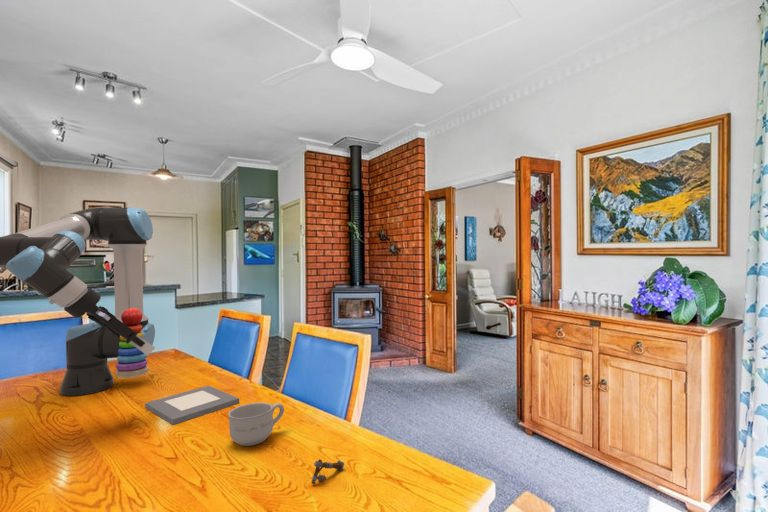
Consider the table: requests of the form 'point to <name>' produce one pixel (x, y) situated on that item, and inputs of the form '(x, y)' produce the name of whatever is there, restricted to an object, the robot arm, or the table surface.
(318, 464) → the dark triangular frame
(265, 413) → the teacup
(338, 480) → the table surface
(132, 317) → the stacking toy
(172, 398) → the plate
